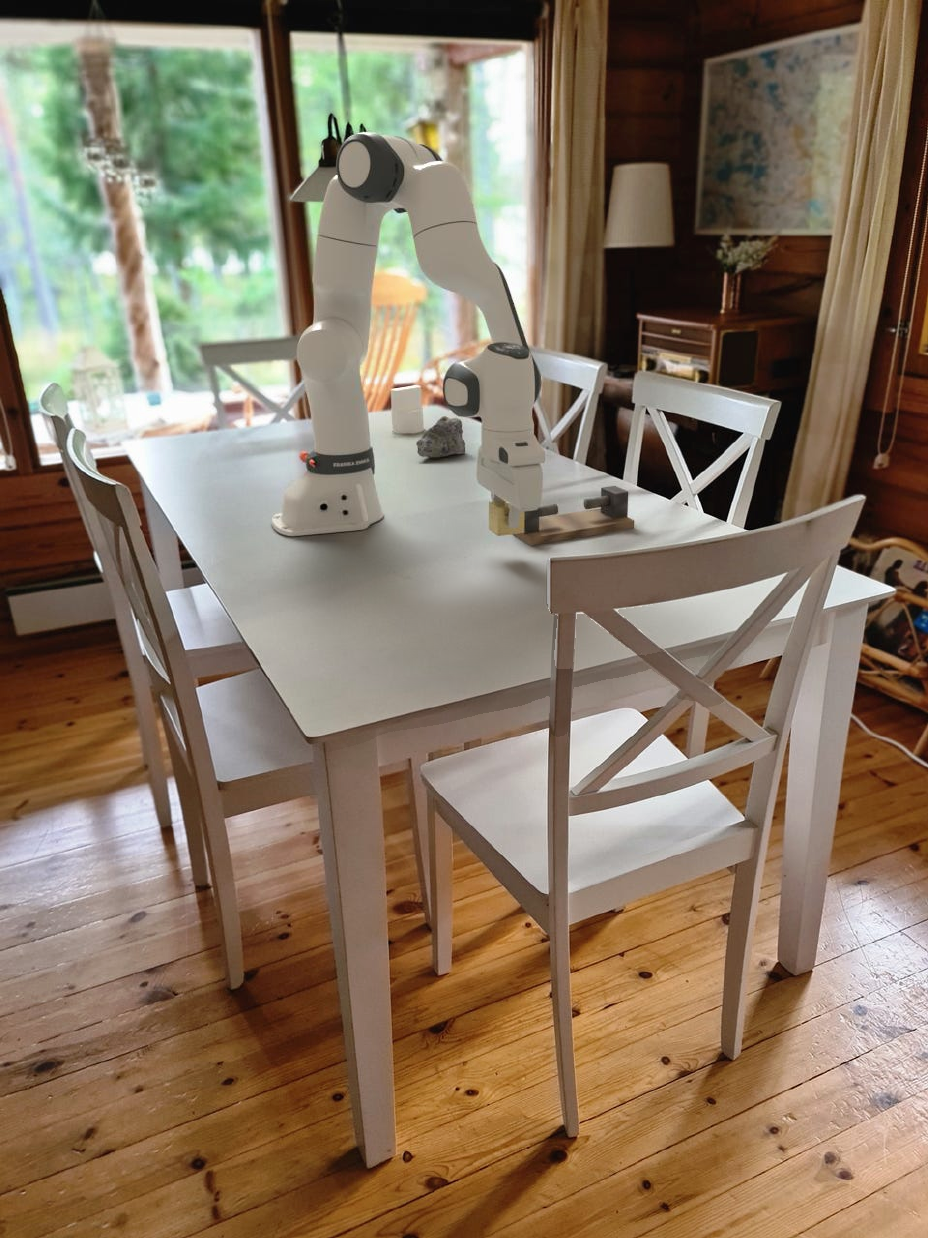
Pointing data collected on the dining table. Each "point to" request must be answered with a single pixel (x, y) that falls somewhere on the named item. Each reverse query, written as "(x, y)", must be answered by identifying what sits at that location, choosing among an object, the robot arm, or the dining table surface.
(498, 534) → the yellow cube
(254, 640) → the dining table surface
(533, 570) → the dining table surface
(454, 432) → the mineral rock
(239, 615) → the dining table surface
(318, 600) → the dining table surface
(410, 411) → the cylinder with rectangular tab
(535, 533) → the shaft stand
